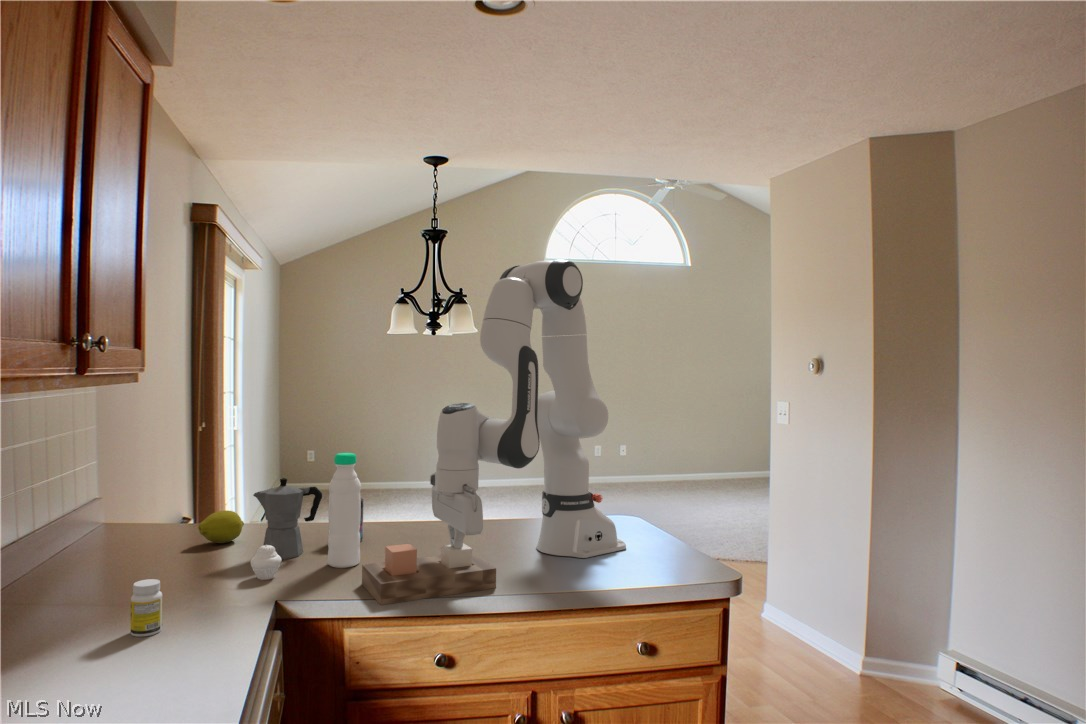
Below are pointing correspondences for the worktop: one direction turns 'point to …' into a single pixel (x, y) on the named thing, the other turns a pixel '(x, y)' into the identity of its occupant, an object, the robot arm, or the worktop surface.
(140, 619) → the supplement bottle
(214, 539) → the lemon
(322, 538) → the worktop surface
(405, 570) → the terracotta key
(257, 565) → the muffin
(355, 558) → the water bottle
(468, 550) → the cream key
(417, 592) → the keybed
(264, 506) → the coffeepot
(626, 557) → the worktop surface
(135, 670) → the worktop surface
